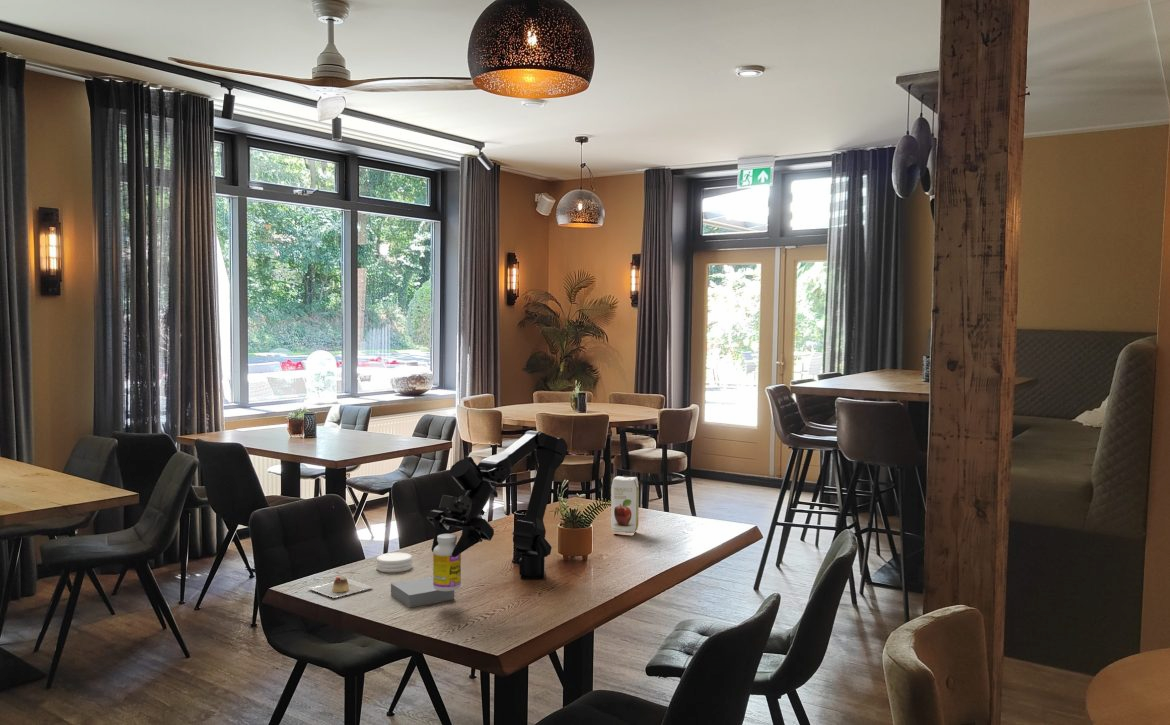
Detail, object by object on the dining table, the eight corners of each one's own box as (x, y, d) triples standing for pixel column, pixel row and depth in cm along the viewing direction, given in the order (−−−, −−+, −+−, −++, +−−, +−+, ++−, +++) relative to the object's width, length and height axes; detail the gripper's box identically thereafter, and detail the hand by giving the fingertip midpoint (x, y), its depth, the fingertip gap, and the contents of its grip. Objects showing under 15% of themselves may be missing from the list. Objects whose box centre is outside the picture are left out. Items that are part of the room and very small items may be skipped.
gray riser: (434, 587, 223) (434, 576, 223) (454, 599, 213) (454, 587, 213) (390, 594, 216) (390, 583, 216) (409, 607, 206) (409, 595, 206)
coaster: (374, 565, 244) (374, 553, 244) (408, 562, 248) (408, 550, 248) (379, 574, 235) (379, 562, 235) (415, 571, 239) (415, 559, 239)
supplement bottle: (450, 593, 202) (449, 540, 202) (427, 589, 206) (427, 537, 205) (466, 586, 208) (466, 534, 208) (444, 582, 211) (444, 531, 211)
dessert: (307, 592, 220) (307, 574, 220) (347, 582, 229) (347, 564, 229) (333, 602, 212) (333, 583, 212) (374, 591, 221) (373, 573, 221)
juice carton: (614, 530, 290) (615, 475, 289) (639, 532, 287) (640, 476, 287) (609, 535, 282) (610, 478, 282) (635, 537, 280) (635, 480, 280)
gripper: (431, 478, 215) (398, 529, 206) (485, 486, 204) (453, 541, 195) (454, 504, 221) (423, 554, 213) (507, 513, 210) (477, 567, 202)
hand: (442, 553), depth 206 cm, fingers closed on supplement bottle, 7 cm apart
